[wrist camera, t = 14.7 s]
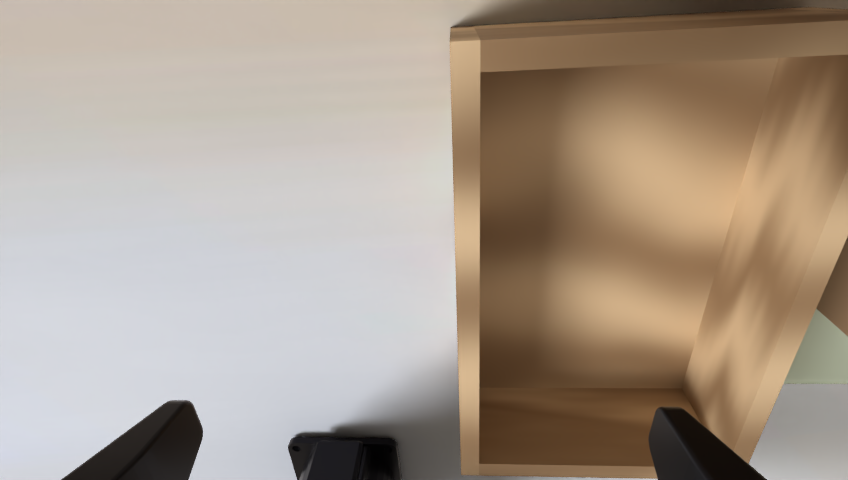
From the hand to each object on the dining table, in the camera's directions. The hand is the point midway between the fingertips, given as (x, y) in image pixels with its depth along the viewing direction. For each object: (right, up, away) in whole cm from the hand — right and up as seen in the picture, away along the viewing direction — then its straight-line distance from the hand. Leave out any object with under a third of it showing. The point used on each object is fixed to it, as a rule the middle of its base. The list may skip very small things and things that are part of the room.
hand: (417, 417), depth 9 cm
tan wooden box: (+8, +6, +10) cm, 14 cm away
